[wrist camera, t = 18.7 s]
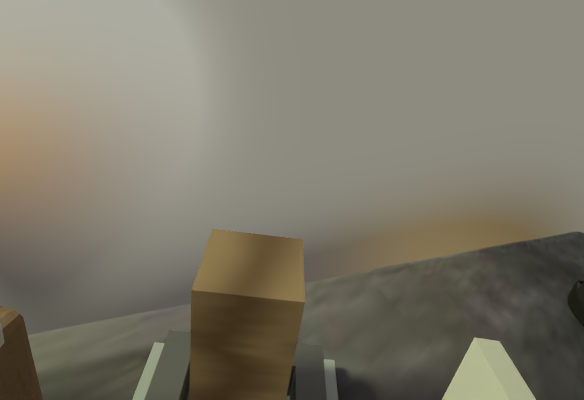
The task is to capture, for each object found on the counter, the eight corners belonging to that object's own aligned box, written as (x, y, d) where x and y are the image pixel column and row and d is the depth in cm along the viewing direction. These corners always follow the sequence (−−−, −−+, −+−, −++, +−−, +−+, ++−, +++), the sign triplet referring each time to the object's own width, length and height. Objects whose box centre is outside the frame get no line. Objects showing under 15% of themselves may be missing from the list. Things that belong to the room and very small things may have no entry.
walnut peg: (273, 410, 35) (303, 239, 27) (269, 486, 30) (305, 303, 21) (203, 403, 35) (211, 228, 26) (186, 480, 29) (190, 290, 21)
